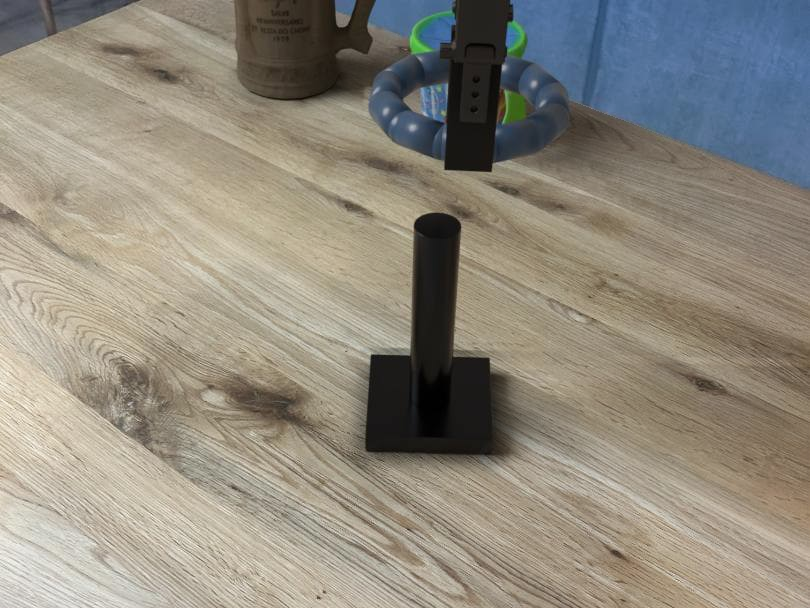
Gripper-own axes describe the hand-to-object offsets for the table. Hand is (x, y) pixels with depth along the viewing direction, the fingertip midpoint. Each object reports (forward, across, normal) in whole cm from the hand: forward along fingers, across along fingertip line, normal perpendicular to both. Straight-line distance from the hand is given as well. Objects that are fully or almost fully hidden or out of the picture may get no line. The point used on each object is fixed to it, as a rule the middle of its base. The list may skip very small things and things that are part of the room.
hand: (468, 153), depth 61 cm
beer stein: (+21, -53, -15) cm, 59 cm away
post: (+21, -1, -1) cm, 21 cm away
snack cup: (+21, -41, +1) cm, 47 cm away
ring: (-1, -5, 0) cm, 5 cm away
